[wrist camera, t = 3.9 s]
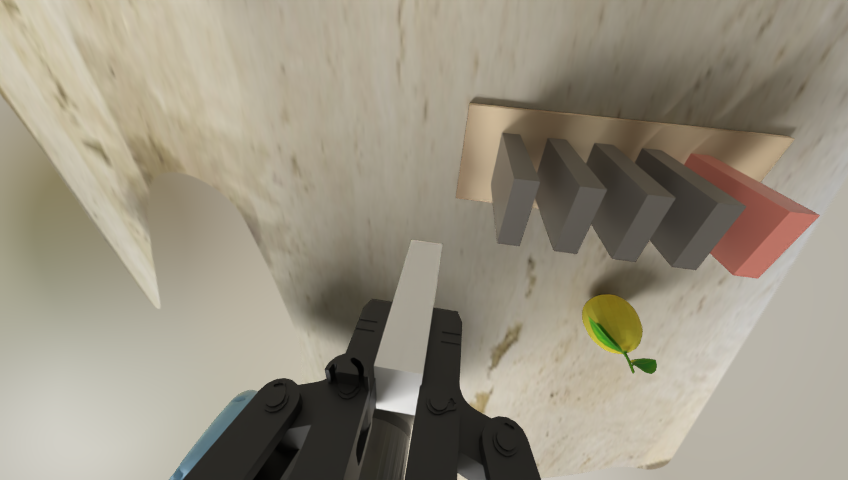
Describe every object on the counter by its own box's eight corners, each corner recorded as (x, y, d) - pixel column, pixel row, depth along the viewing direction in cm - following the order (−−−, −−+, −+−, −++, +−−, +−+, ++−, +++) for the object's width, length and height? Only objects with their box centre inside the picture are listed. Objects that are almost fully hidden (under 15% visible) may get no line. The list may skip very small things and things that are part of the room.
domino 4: (616, 199, 29) (671, 266, 21) (642, 147, 26) (718, 203, 18) (633, 201, 29) (696, 270, 21) (661, 150, 26) (746, 206, 18)
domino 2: (531, 189, 29) (553, 250, 21) (547, 137, 26) (580, 186, 18) (548, 191, 29) (576, 254, 21) (566, 139, 26) (607, 189, 18)
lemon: (629, 311, 38) (671, 389, 30) (578, 319, 40) (605, 393, 32) (626, 273, 35) (673, 348, 26) (571, 282, 36) (599, 356, 28)
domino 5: (659, 204, 29) (732, 275, 20) (690, 153, 26) (790, 211, 18) (677, 206, 28) (758, 278, 20) (710, 155, 26) (820, 215, 17)
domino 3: (573, 194, 29) (611, 258, 21) (594, 142, 26) (648, 194, 18) (590, 196, 29) (635, 261, 21) (613, 144, 26) (675, 197, 18)
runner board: (456, 194, 32) (455, 198, 31) (469, 102, 26) (469, 104, 26) (716, 227, 30) (721, 231, 29) (786, 135, 25) (794, 138, 24)
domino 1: (490, 184, 30) (496, 243, 22) (501, 132, 27) (514, 178, 19) (507, 186, 30) (519, 246, 21) (520, 134, 27) (540, 181, 19)
